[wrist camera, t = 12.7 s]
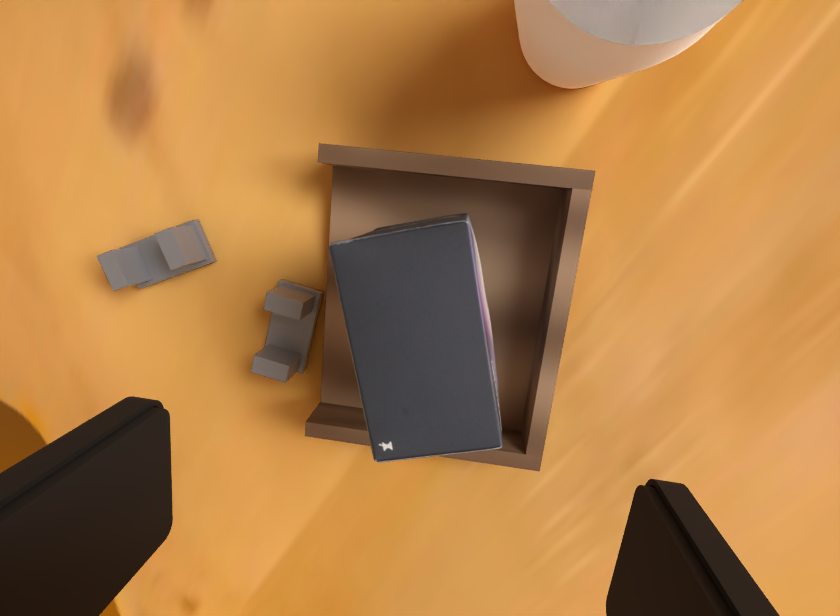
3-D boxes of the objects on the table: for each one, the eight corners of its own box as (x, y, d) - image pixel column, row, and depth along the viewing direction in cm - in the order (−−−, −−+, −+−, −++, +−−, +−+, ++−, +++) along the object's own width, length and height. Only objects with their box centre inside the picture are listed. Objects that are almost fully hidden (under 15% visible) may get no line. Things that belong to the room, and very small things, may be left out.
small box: (497, 370, 31) (510, 455, 21) (402, 382, 32) (369, 469, 22) (473, 209, 29) (474, 217, 19) (371, 227, 30) (319, 244, 20)
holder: (338, 150, 30) (318, 143, 26) (578, 174, 29) (595, 170, 25) (323, 408, 34) (305, 436, 30) (531, 438, 33) (539, 471, 29)
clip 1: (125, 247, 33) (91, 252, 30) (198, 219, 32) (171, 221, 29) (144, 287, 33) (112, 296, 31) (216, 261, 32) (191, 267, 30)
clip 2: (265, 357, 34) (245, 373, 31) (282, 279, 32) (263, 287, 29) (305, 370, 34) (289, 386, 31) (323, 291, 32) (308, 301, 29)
